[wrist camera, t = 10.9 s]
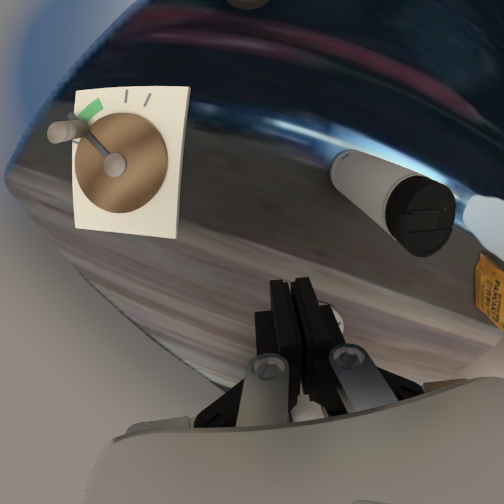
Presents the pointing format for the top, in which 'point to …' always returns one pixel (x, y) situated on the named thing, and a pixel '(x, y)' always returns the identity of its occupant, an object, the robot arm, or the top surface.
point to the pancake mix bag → (490, 290)
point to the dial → (116, 159)
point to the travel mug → (397, 200)
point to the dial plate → (173, 132)
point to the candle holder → (247, 4)
